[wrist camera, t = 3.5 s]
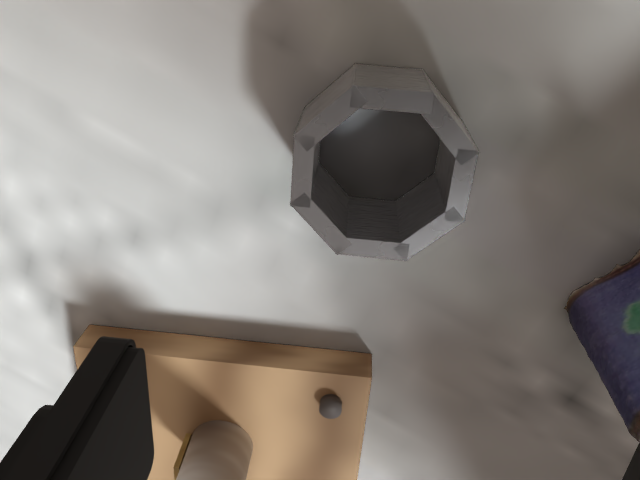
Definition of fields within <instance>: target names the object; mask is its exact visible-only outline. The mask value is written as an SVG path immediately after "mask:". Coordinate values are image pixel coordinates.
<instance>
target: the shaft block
mask: <svg viewBox="0 0 640 480" xmlns="http://www.w3.org/2000/svg"><path fill="white" fill-rule="evenodd" d="M102 336H106V337H116V338H126V339H132V340H134V341H135V344H136V348H143V349H144V351H145V358H146V369H147V379H148V390H149V400H150V411H151V421H152V432H153V442H154V460H153V465H152V469H151V471H150V474H149V477H148V479H147V480H357V476H358V469H359V463H360V456H361V449H362V442H363V435H364V428H365V421H366V415H367V408H368V401H369V394H370V387H371V380H372V354H369V353H359V352H349V351H340V350H330V349H321V348H311V347H301V346H292V345H282V344H272V343H263V342H253V341H243V340H234V339H224V338H214V337H205V336H195V335H185V334H176V333H166V332H156V331H147V330H137V329H127V328H118V327H108V326H98V325H89V326H88V327H87V329H86V330H85V331H84V333H83V334H82V335H81V337H80V338H79V340H78V341H77V342H76V344H75V345H74V346H73V348H74V354H75V360H76V366H77V370H78V368H79V367H80V365H81V364H82V362H83V361H84V359H85V358H86V356H87V355H88V353H89V352H90V350H91V349H92V347H93V346H94V344H95V343H96V341H97V340H98V339H99V338H100V337H102Z"/></svg>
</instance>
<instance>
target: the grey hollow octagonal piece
mask: <svg viewBox="0 0 640 480" xmlns="http://www.w3.org/2000/svg"><path fill="white" fill-rule="evenodd" d="M359 108H363V109H374V110H386V111H397V112H408V113H419V114H421V115H422V116H423V117H424V119H425V120H426V121H427V123H428V124H429V125H430V126H431V128H432V129H433V130H434V131H435V133H436V134H437V135H438V136H439V138H440V142H439V148H438V153H437V159H436V165H435V171H434V173H433V174H432V175H431V176H429V177H428V178H427V179H425V180H424V181H422V182H421V183H420V184H418V185H417V186H416V187H414V188H413V189H411V190H410V191H409V192H407V193H406V194H405V195H403V196H402V197H400V198H399V199H398V200H396V201H392V200H381V199H371V198H360V197H350V196H349V195H348V194H347V193H346V192H345V191H344V190H343V189H342V188H341V186H340V185H339V184H338V183H337V182H336V181H335V180H334V179H333V177H332V176H331V175H330V174H329V173H328V172H327V171H326V170H325V168H324V167H323V166H322V165H321V164H320V163H319V156H320V143H321V140H322V139H323V138H324V137H325V136H327V135H328V134H329V133H330V132H331V131H333V130H334V129H335V128H336V127H338V126H339V125H340V124H341V123H342V122H344V121H345V120H346V119H347V118H349V117H350V116H351V115H352V114H353V113H355V112H356V111H357V110H358V109H359ZM293 136H294V147H293V167H292V186H291V201H290V205H291V206H292V207H293V208H294V209H295V210H296V211H297V212H298V213H299V214H300V215H301V216H302V217H303V219H304V220H305V221H306V222H307V223H308V224H309V225H310V226H311V227H312V228H313V229H314V230H315V231H316V232H317V233H318V234H319V236H320V237H321V238H322V239H323V240H324V241H325V242H326V243H327V244H328V245H329V246H330V247H331V248H332V249H333V250H334V252H335V253H336V254H337V255H338V254H342V255H352V256H363V257H373V258H383V259H393V260H404V261H407V260H408V259H409V258H411V257H412V256H414V255H415V254H417V253H418V252H419V251H421V250H422V249H424V248H425V247H427V246H428V245H430V244H431V243H433V242H434V241H436V240H437V239H439V238H440V237H442V236H443V235H445V234H446V233H448V232H449V231H451V230H452V229H454V228H455V227H457V226H458V225H459V224H461V223H462V222H464V221H465V215H466V211H467V206H468V201H469V196H470V191H471V187H472V182H473V177H474V172H475V167H476V163H477V158H478V154H479V150H478V148H477V146H476V144H475V143H474V141H473V139H472V137H471V135H470V134H469V132H468V130H467V128H466V126H465V125H464V123H463V121H462V119H460V118H459V117H458V115H457V114H456V113H455V111H454V110H453V109H452V107H451V106H450V105H449V104H448V102H447V101H446V100H445V98H444V97H443V96H442V94H441V93H440V92H439V90H438V89H437V88H436V86H435V85H434V84H433V83H432V81H431V80H430V79H429V77H428V76H427V75H426V73H425V71H424V70H423V69H411V68H400V67H388V66H377V65H365V64H357V63H355V64H354V65H353V66H352V67H351V68H350V69H349V70H347V71H346V72H345V73H344V74H343V75H342V76H340V77H339V78H338V79H337V80H336V81H335V82H333V83H332V84H331V85H330V86H329V87H328V88H326V89H325V90H324V91H323V92H322V93H321V94H319V95H318V96H317V97H316V98H315V99H314V100H312V101H311V102H310V103H309V104H308V105H307V106H305V107H304V110H303V112H302V115H301V117H300V120H299V122H298V125H297V128H296V130H295V133H294V135H293Z"/></svg>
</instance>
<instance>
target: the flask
mask: <svg viewBox="0 0 640 480" xmlns="http://www.w3.org/2000/svg"><path fill="white" fill-rule="evenodd" d="M636 254H637V255H635V256H634V258H633V259H632V260H631V262H628V263H627V264H625V265H623V266H622V265H618V264H616V267H615V268H614V269H613V270H612V271H611V272H610V274H608V275H606V276H604V277H600V278H594V279H595V280H593V281H592V282H590V283H589V284H587V285H584V286H583V287H581V288H579V289H577V290H575V291H573V292H572V293H571V296H570V297H569V299H568V301H567V305H566V307H565V308H564V309H567V312H568V315H569V319H570V323H571V325H572V327H573V330H574V331H575V332H576V334H577V336H578V338H579V340H580V342H581V343H582V345H583V346H584V348H585V350H586V352H587V355H588V357H589V358H590V360H591V361H592V362H593V364H594V366H595V368H596V370H597V371H598V373H599V375H600V377H601V380H602V382H603V383H604V385H605V386H606V388H607V390H608V392H609V394H610V396H611V398H612V400H613V402H614V404H615V406H616V408H617V409H618V411H619V413H620V415H621V416H622V418H623V420H624V422H625V425H626V426H627V428H628V431H629V433H630V434H631V435H632V436H633V437H634V438H636V439H637V441H638V442H640V249H639V251H638V252H637V253H636Z"/></svg>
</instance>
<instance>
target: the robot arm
mask: <svg viewBox="0 0 640 480" xmlns="http://www.w3.org/2000/svg"><path fill="white" fill-rule="evenodd" d="M153 460H154V442H153V432H152V421H151V411H150V400H149V390H148V379H147V369H146V358H145V351H144V349H143V348H136V344H135V341H134V340H132V339H126V338H116V337H106V336H102V337H100V338H99V339H98V340H97V341H96V343H95V344H94V346H93V347H92V349H91V350H90V352H89V353H88V355H87V356H86V358H85V359H84V361H83V362H82V364H81V365H80V367H79V368H78V370H77V371H76V373H75V374H74V376H73V377H72V379H71V380H70V382H69V383H68V385H67V386H66V388H65V389H64V391H63V392H62V394H61V395H60V397H59V398H58V400H57V401H56V403H55V404H54V406H52V405H45V406H43V407H41V408H40V409H39V410H38V411H37V412H36V413H35V414H34V415H33V417H32V418H31V420H30V421H29V422H28V424H27V425H26V427H25V428H24V430H23V431H22V432H21V434H20V435H19V437H18V438H17V440H16V441H15V442H14V444H13V445H12V447H11V448H10V450H9V451H8V452H7V454H6V455H5V457H4V458H3V460H2V461H1V462H0V480H147V479H148V477H149V474H150V471H151V469H152V465H153ZM622 480H640V443H639V445H638V447H637V449H636V451H635V453H634V455H633V458H632V460H631V462H630V464H629V466H628V468H627V470H626V473H625V475H624V477H623V479H622Z"/></svg>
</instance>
